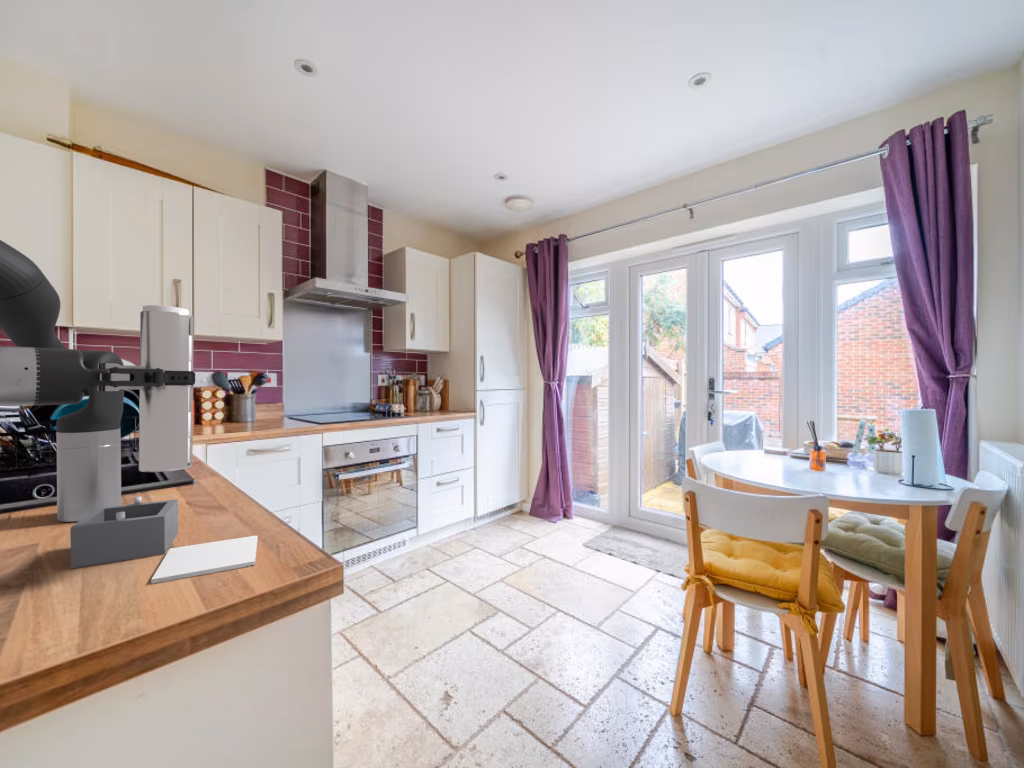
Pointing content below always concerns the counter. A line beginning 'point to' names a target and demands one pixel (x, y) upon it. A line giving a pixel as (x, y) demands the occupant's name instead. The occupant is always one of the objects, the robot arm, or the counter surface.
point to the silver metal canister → (166, 390)
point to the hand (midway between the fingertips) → (187, 378)
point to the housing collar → (124, 532)
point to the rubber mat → (206, 558)
